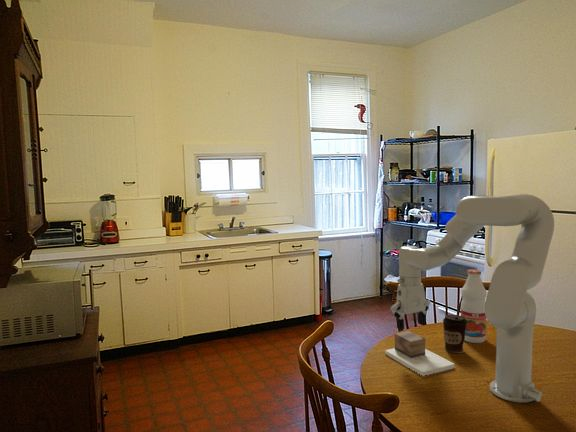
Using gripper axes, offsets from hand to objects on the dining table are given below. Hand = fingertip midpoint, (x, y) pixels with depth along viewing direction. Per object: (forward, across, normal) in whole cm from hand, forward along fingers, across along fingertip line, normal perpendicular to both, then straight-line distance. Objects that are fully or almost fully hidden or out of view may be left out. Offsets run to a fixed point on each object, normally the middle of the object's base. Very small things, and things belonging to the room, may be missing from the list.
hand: (411, 326), depth 156 cm
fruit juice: (+12, +33, +2) cm, 35 cm away
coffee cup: (+12, +18, -3) cm, 21 cm away
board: (+11, 0, -4) cm, 12 cm away
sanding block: (+10, 0, +1) cm, 10 cm away
